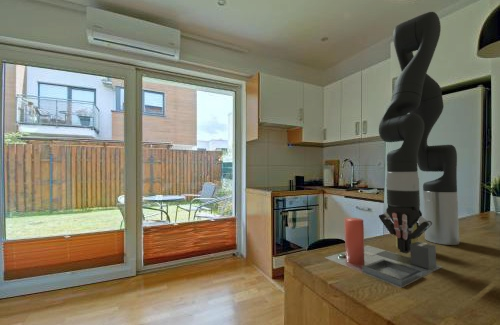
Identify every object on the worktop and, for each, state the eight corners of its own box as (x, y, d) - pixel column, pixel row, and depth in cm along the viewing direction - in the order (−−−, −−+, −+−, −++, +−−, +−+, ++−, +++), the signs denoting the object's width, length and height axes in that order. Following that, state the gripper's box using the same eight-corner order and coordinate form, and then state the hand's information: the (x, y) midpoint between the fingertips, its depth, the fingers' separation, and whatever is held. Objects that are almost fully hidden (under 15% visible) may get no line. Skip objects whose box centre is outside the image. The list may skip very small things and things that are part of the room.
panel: (367, 247, 76) (367, 241, 76) (442, 268, 59) (442, 261, 59) (324, 259, 66) (324, 253, 66) (400, 290, 49) (400, 281, 49)
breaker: (418, 260, 63) (417, 240, 63) (436, 265, 59) (435, 244, 59) (410, 263, 61) (410, 243, 61) (428, 269, 57) (428, 247, 57)
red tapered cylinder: (352, 256, 66) (351, 217, 67) (368, 261, 62) (367, 220, 63) (342, 259, 64) (341, 219, 64) (357, 265, 60) (356, 222, 60)
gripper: (437, 189, 61) (440, 257, 60) (385, 186, 72) (387, 243, 71) (423, 191, 57) (426, 263, 56) (371, 187, 68) (373, 247, 68)
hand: (404, 252), depth 64 cm, fingers closed
